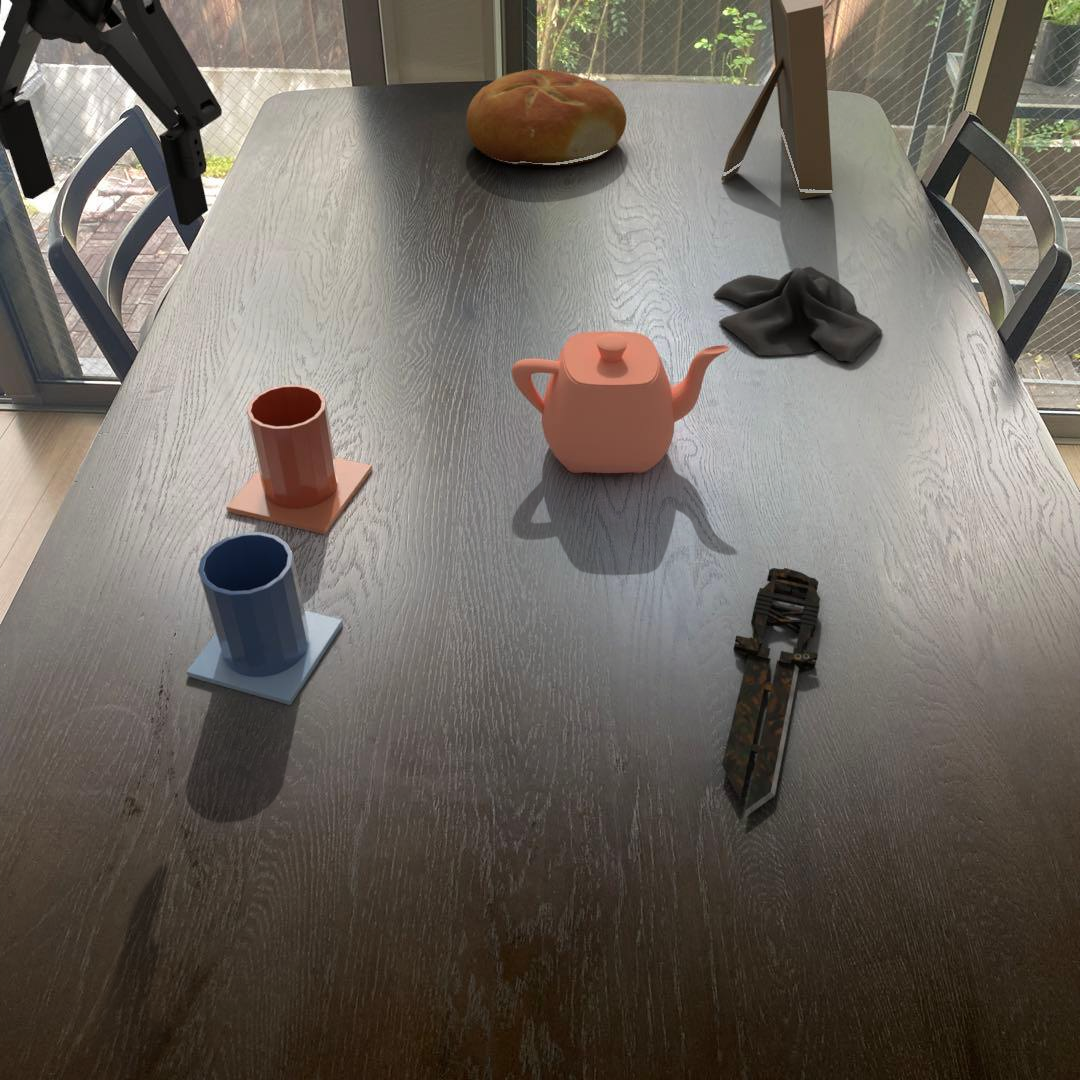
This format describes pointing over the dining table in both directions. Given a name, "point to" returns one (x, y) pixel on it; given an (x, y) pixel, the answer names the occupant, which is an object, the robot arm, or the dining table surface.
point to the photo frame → (796, 95)
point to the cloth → (797, 315)
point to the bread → (544, 118)
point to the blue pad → (274, 686)
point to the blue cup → (255, 603)
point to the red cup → (293, 445)
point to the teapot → (611, 400)
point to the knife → (769, 685)
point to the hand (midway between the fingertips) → (115, 204)
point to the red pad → (310, 518)
